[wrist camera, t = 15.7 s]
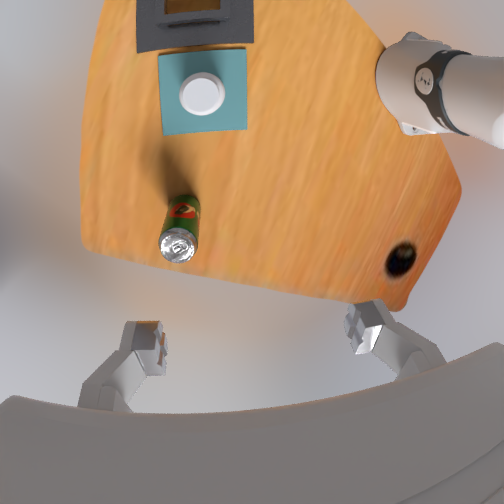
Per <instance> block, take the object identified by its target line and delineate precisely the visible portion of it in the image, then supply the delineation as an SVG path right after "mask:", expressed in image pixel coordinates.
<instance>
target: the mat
mask: <svg viewBox="0 0 504 504" xmlns="http://www.w3.org/2000/svg"><path fill="white" fill-rule="evenodd" d="M158 64H159V85H160V101H161V114H162V126H163V136H166V135H175V134H185V133H196V132H209V131H224V130H247V61H246V49H236V50H212V51H198V52H187V53H178V54H170V55H162V56H158ZM199 72H207V73H211V74H213V75H215V76H217V77H218V78H219V79H220V80H221V81H222V83H223V85H224V87H225V98H224V101H223V103H222V105H221V106H220V107H219V108H218V109H217V110H216V111H214V112H213V113H211V114H208V115H194V114H192V113H190V112H188V111H187V110H185V109H184V108H183V106H182V105H181V103H180V99H179V91H180V87H181V85H182V83H183V82H184V81H185V80H186V79H187V78H188V77H189V76H191V75H193V74H196V73H199Z"/></svg>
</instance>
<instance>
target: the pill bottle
mask: <svg viewBox="0 0 504 504" xmlns="http://www.w3.org/2000/svg"><path fill="white" fill-rule="evenodd" d="M224 98H225V87H224V85H223V83H222V81H221V80H220V79H219V78H218V77H217V76H215V75H213V74H211V73H207V72H199V73H196V74H193V75H191V76H189V77H188V78H187V79H186V80H185V81H184V82H183V83H182V85H181V87H180V91H179V99H180V103H181V105H182V106H183V108H184V109H185V110H187V111H188V112H190V113H192V114H194V115H208V114H211V113H213V112H214V111H216V110H217V109H218V108H219V107H220V106H221V105H222V103H223V101H224Z"/></svg>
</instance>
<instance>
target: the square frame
mask: <svg viewBox="0 0 504 504" xmlns="http://www.w3.org/2000/svg"><path fill="white" fill-rule="evenodd" d="M203 21H214V22H203ZM191 22H199V23H191ZM181 23H188V24H181ZM173 24H179V25H173ZM169 25H171V26H169ZM136 37H137V53H143V52H149V51H155V50H162V49H169V48H177V47H186V46H197V45H210V44H234V43H254V14H253V0H220V10H203V11H191V12H182V13H174V14H167V0H137V9H136Z"/></svg>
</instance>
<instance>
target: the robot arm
mask: <svg viewBox="0 0 504 504" xmlns="http://www.w3.org/2000/svg"><path fill="white" fill-rule="evenodd" d="M376 85H377V90H378V93H379V96H380V98H381V100H382V102H383V104H384V105H385V107H386V108H387V109H388V111H389V112H390V113H391V114H392V115H393V116H394V117H395V118H396V119H397V121H398V124H399V126H400V129H401V131H402V132H403V133H404V134H406V135H419V134H436V133H449V132H454V133H456V134H460V135H465V136H470V135H471V136H473V137H476V138H478V139H480V140H482V141H485V142H487V143H489V144H491V145H493V146H495V147H497V148H499V149H503V150H504V57H488V56H474V55H471V54H470V53H467V52H464V51H460V50H452V49H451V47H450V46H448V45H443V44H442V42H440V41H434V40H427V39H426V38H424V37H422V36H421V35H419V34H417V33H415V32H408V33H407V34H406V35H405V36H404V37H403V39H402V40H401V41H400V42H398V43H395V44H393V45H391V46H390V47H388V48H387V49H386V50H385V51H384V52H383V53H382V55H381V57H380V59H379V61H378V64H377V68H376ZM413 127H414V129H413ZM348 311H349V313H348V314H347V315H346V317H345V320H344V328H345V332H346V335H347V336H348V337H349V338H351V339H352V341H351V346H352V348H353V351H354V353H355V355H357V354H362V353H367V352H372V353H373V354H374V355H375V356H376V357H378V358H379V359H380V360H381V361H382V362H384V363H385V364H386V365H387V366H389V367H390V368H391V369H392V370H393V371H394V372H396V373H397V374H398V376H397V377H396V379H395V381H393V382H390V383H387V384H383V385H380V386H376V387H373V388H369V389H365V390H361V391H357V392H353V393H349V394H344V395H340V396H335V397H330V398H325V399H321V400H315V401H310V402H304V403H298V404H292V405H285V406H278V407H271V408H263V409H254V410H244V411H233V412H216V413H191V414H155V413H133V412H132V410H131V409H130V408H129V406H128V405H127V404H128V402H129V401H130V400H131V398H132V397H133V396H134V394H135V393H136V391H137V390H138V388H139V387H140V385H141V384H142V383H143V382H144V380H145V379H146V378H147V376H161V375H165V373H166V360H165V358H164V357H165V356H166V355H167V350H168V347H167V339H166V335H165V333H163V332H162V329H163V326H162V323H161V321H127V322H126V324H125V326H124V330H123V335H122V339H121V343H120V348H119V350H117V351H115V352H114V353H113V354H112V355H111V356H110V357H109V358H108V359H107V360H106V361H105V362H104V363H103V364H102V365H101V366H100V367H99V368H98V369H97V370H96V371H95V372H94V373H93V374H92V375H91V376H90V377H89V378H88V379H87V380H86V381H85V382H84V383H83V385H82V389H81V393H80V397H79V402H78V406H77V407H73V406H66V405H61V404H55V403H49V402H44V401H39V400H34V399H29V398H25V397H21V396H16V395H13V396H10V397H9V398H7V399H6V400H5V401H4V402H2V403H1V404H0V504H504V345H502V344H500V343H498V342H496V343H492V344H490V345H487V346H485V347H483V348H481V349H479V350H477V351H474V352H472V353H470V354H468V355H465V356H463V357H460V358H458V359H456V360H453V361H451V362H448V363H447V362H446V361H445V359H444V357H443V355H442V354H441V352H440V351H439V349H438V347H437V345H436V344H434V343H432V342H431V341H429V340H428V339H426V338H424V337H423V336H421V335H419V334H418V333H416V332H414V331H413V330H411V329H409V328H408V327H406V326H404V325H403V324H401V323H399V322H395V320H394V319H393V317H392V315H391V314H390V312H389V310H388V309H387V307H386V306H385V304H384V302H383V301H382V299H380V298H378V299H372V300H366V301H360V302H354V303H350V304H349V306H348Z"/></svg>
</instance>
